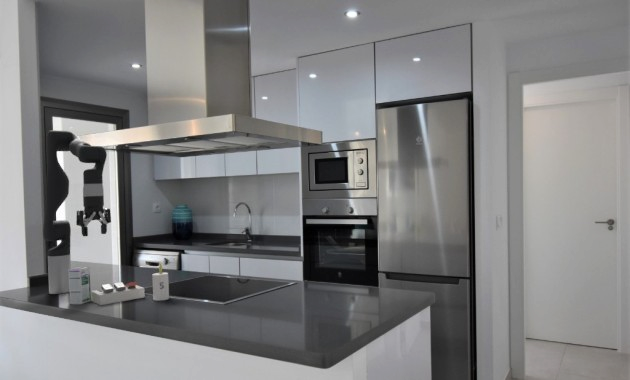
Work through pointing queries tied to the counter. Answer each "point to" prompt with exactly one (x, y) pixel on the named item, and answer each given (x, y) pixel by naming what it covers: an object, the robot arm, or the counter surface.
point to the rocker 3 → (131, 284)
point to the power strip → (118, 295)
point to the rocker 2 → (119, 286)
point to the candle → (160, 285)
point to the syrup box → (79, 285)
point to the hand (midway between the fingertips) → (94, 235)
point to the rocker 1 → (107, 288)
